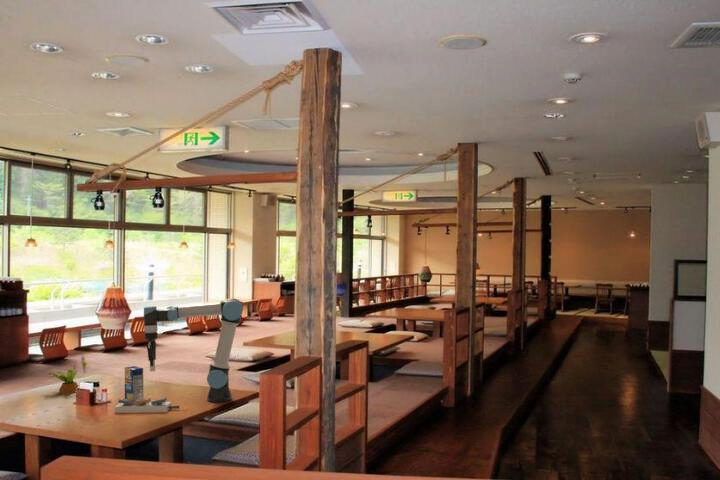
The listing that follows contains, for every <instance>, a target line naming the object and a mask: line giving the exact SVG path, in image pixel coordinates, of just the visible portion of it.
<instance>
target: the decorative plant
mask: <svg viewBox="0 0 720 480" xmlns="http://www.w3.org/2000/svg"><path fill="white" fill-rule="evenodd" d="M80 359H81V361H80V363H81V364H80V366H81V367H82V370H83V373H84V375H86V373H87V365H88V363H87V361H86V359H85V356H84V355H81V357H80ZM75 369H76V364H74V365H73V367H72V370H71V369H67V373H66V375H65V374H64V372H62V371H58V374H61V375H58V374H56V373H53V372H48V375H49V377H48V378H49V379H51V378H52V379H53V378H56V379H58V380H61V381H62V384H61V385H60V388H58V389H59V390H58V394H61V395H67V394H68V395H69V394H76V393H75V391H76V388H77V387H78V386H79V384H77V383H78V382H77V381H74V378H75V376H76V375H77V372H78V370H75ZM50 375H51V376H50Z"/></svg>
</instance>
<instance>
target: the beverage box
mask: <svg viewBox="0 0 720 480" xmlns="http://www.w3.org/2000/svg"><path fill="white" fill-rule="evenodd" d="M124 399H129V400H134V401H136V400H141V399H144V368H143V367H141V366H136V365H134V366H126V367H124Z"/></svg>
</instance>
